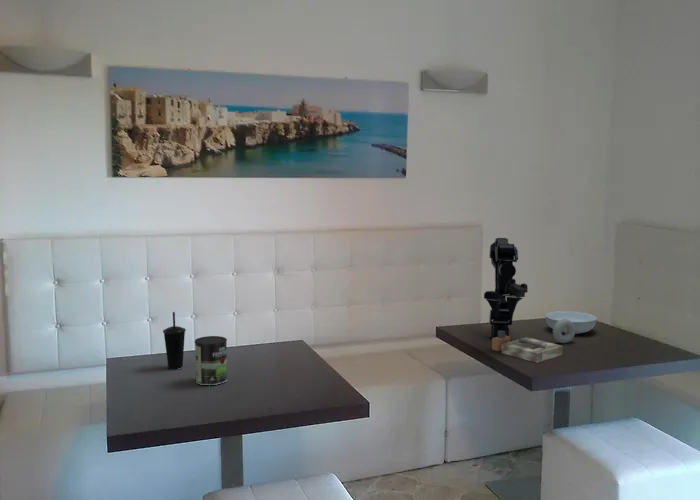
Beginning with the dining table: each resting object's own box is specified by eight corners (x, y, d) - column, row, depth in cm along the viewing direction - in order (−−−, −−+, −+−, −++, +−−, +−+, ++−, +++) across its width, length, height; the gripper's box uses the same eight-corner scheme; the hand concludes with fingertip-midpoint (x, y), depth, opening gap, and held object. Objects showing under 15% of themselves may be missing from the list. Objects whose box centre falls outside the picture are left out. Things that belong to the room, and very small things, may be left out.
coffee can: (234, 379, 219) (233, 338, 218) (212, 388, 211) (211, 345, 209) (211, 374, 225) (210, 334, 223) (189, 382, 216) (187, 340, 214)
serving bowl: (560, 323, 299) (561, 308, 298) (604, 332, 284) (605, 316, 283) (535, 331, 285) (536, 315, 284) (580, 340, 270) (581, 324, 269)
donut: (571, 341, 269) (572, 317, 267) (576, 343, 265) (577, 319, 264) (550, 343, 266) (551, 318, 264) (555, 345, 262) (556, 320, 261)
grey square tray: (501, 353, 251) (501, 340, 251) (526, 345, 261) (527, 333, 261) (537, 362, 239) (537, 349, 238) (562, 354, 249) (562, 341, 249)
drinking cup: (190, 365, 234) (189, 310, 232) (178, 372, 227) (176, 315, 225) (172, 363, 237) (170, 309, 234) (159, 369, 230) (157, 313, 227)
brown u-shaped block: (491, 349, 256) (492, 331, 255) (503, 346, 261) (504, 328, 260) (498, 351, 254) (498, 333, 253) (510, 347, 259) (510, 330, 258)
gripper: (507, 279, 242) (506, 321, 243) (537, 276, 254) (536, 316, 255) (483, 276, 251) (482, 317, 251) (512, 274, 263) (511, 313, 264)
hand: (504, 316), depth 255 cm, fingers open, 9 cm apart
